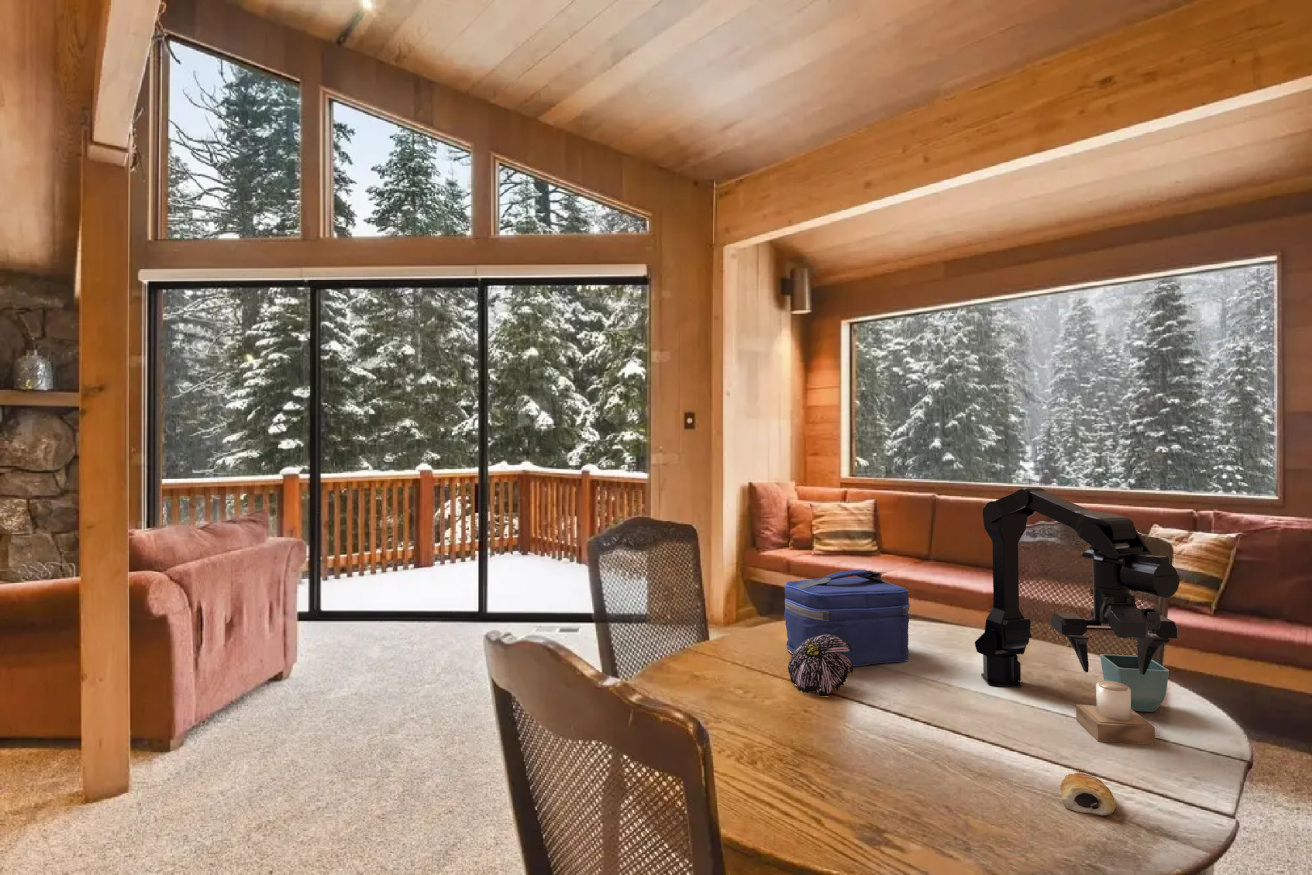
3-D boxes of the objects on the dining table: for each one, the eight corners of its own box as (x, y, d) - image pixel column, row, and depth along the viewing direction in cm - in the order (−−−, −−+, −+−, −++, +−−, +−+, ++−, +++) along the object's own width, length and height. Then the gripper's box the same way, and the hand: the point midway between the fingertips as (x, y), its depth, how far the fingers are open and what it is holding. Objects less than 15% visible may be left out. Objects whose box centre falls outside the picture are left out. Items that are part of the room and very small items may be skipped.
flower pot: (1171, 717, 129) (1170, 670, 129) (1119, 714, 131) (1118, 667, 131) (1148, 700, 138) (1147, 655, 138) (1099, 697, 140) (1098, 653, 140)
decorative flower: (768, 639, 151) (822, 613, 156) (773, 681, 155) (826, 653, 161) (810, 676, 138) (867, 646, 144) (814, 721, 143) (870, 689, 148)
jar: (1091, 708, 127) (1090, 679, 127) (1122, 709, 126) (1121, 680, 126) (1104, 719, 121) (1103, 689, 121) (1137, 721, 121) (1136, 691, 121)
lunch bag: (880, 637, 185) (878, 561, 186) (931, 660, 165) (929, 575, 165) (775, 648, 177) (774, 569, 177) (816, 674, 157) (814, 585, 157)
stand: (1097, 741, 120) (1097, 723, 120) (1076, 720, 129) (1076, 703, 129) (1155, 744, 118) (1154, 726, 118) (1129, 723, 127) (1129, 706, 127)
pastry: (1059, 781, 107) (1059, 757, 107) (1111, 792, 103) (1111, 766, 103) (1061, 810, 99) (1061, 783, 99) (1117, 822, 95) (1117, 795, 95)
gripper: (1073, 594, 117) (1075, 686, 117) (1196, 597, 114) (1198, 691, 114) (1049, 581, 128) (1051, 665, 128) (1160, 583, 125) (1162, 669, 125)
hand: (1113, 672), depth 123 cm, fingers open, 9 cm apart
